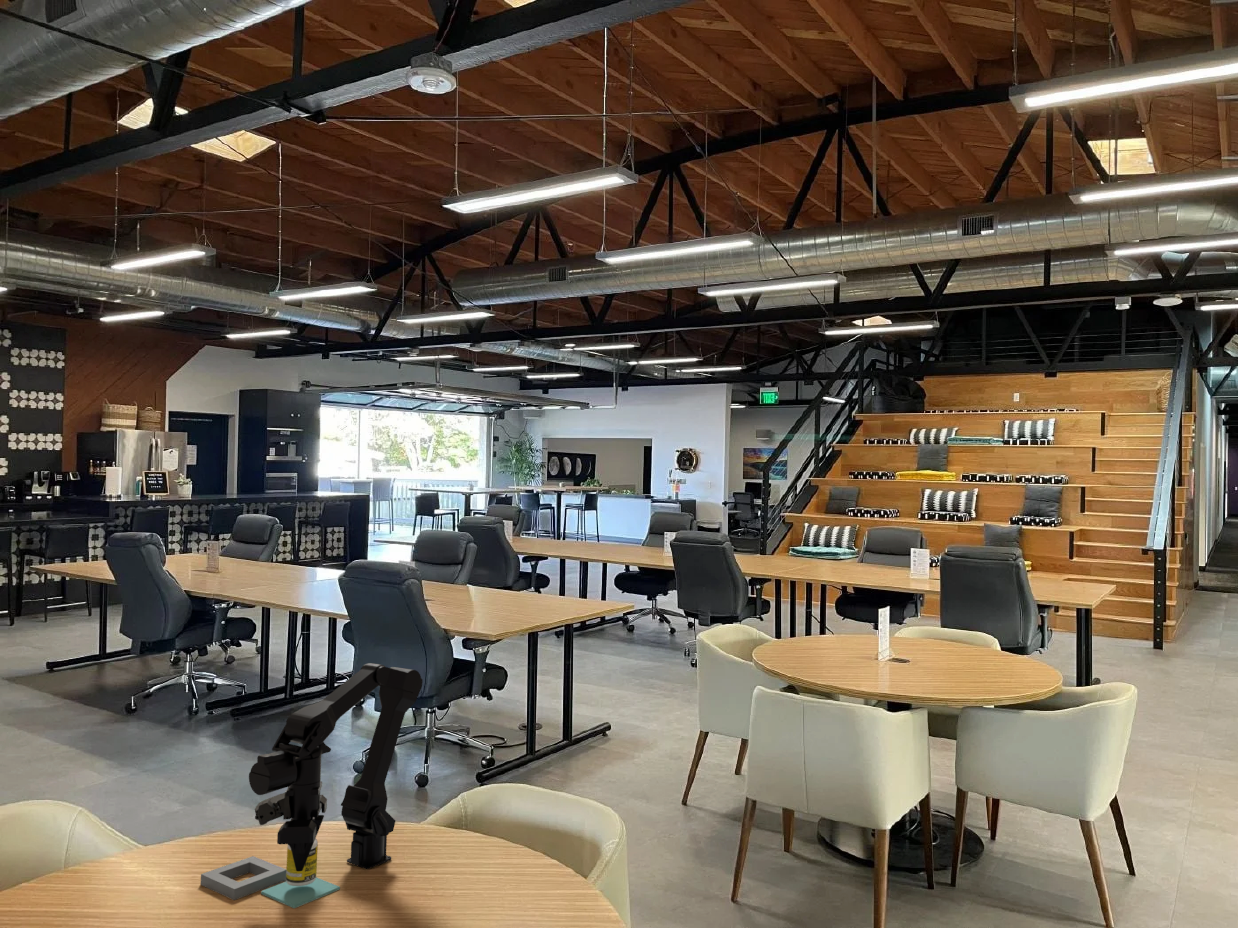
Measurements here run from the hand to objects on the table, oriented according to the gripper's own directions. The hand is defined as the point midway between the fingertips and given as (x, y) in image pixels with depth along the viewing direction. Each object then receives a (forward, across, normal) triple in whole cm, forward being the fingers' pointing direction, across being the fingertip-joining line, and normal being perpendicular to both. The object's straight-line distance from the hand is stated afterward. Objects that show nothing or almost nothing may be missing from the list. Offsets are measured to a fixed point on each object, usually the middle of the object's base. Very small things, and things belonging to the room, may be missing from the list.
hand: (302, 864), depth 168 cm
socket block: (+5, -6, -11) cm, 14 cm away
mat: (+5, 0, 0) cm, 5 cm away
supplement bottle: (+3, 0, 0) cm, 3 cm away
